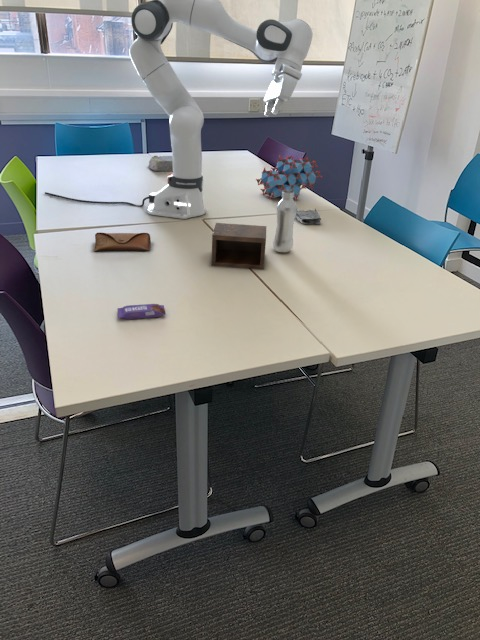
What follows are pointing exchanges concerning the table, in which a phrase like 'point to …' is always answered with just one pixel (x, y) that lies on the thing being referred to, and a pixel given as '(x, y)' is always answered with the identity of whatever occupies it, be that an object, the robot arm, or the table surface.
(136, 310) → the snack package
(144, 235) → the sunglasses case
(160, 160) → the geological specimen
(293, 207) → the plastic bottle
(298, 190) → the molecule model
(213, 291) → the table surface
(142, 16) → the robot arm
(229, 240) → the dark wooden box
